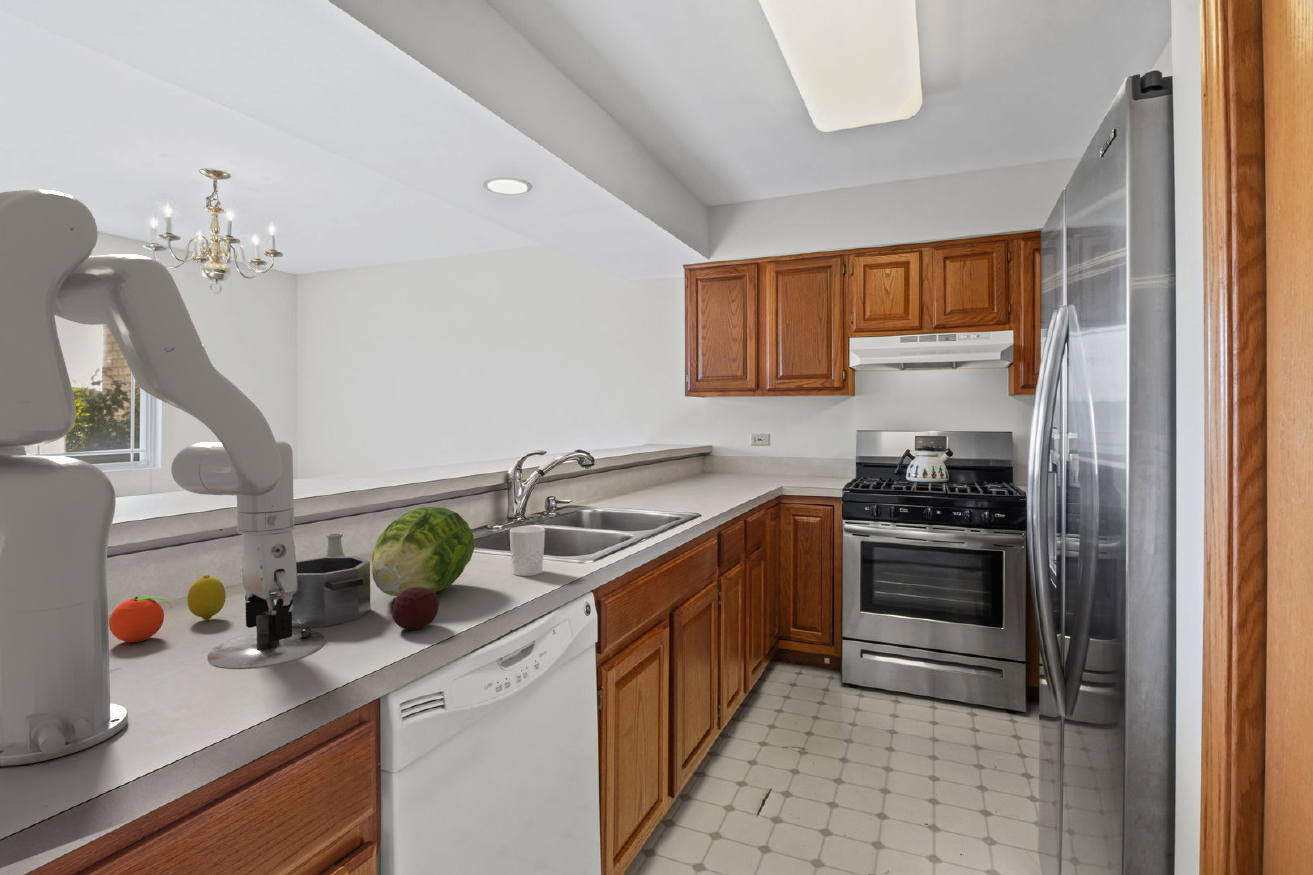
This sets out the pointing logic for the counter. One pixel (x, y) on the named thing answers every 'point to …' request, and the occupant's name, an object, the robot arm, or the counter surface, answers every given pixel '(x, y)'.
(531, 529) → the white cup
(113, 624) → the clementine
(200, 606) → the lemon
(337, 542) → the grey flared column
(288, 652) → the lid
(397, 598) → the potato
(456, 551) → the lettuce
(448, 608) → the counter surface
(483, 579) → the counter surface
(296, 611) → the pot
